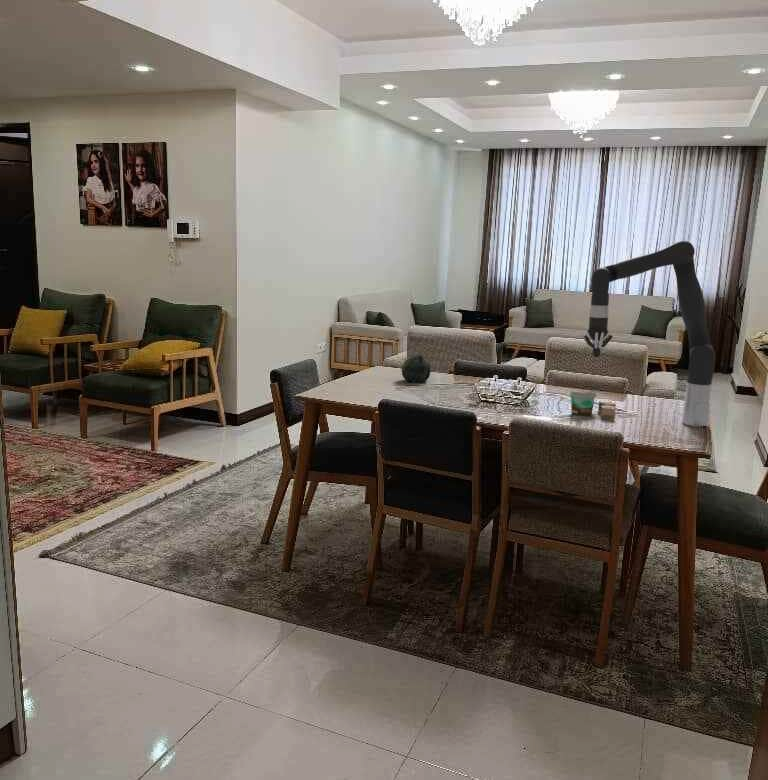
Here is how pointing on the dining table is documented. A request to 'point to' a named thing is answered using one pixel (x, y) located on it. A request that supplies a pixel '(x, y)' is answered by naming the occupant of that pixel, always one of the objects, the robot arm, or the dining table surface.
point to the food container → (582, 402)
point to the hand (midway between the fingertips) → (596, 356)
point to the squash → (416, 369)
